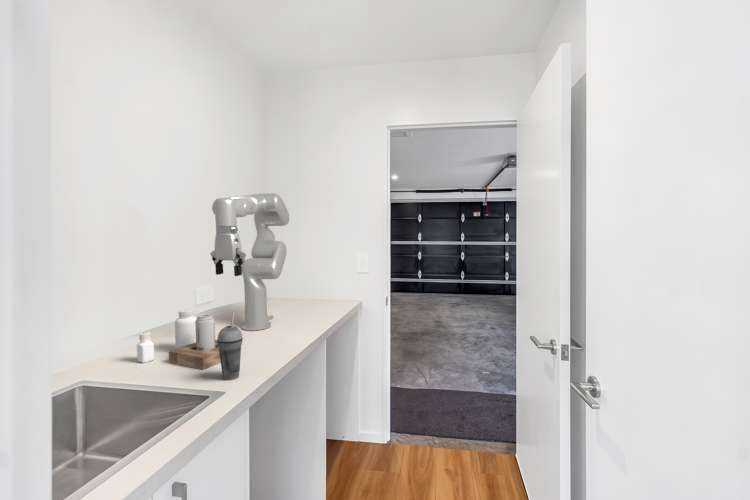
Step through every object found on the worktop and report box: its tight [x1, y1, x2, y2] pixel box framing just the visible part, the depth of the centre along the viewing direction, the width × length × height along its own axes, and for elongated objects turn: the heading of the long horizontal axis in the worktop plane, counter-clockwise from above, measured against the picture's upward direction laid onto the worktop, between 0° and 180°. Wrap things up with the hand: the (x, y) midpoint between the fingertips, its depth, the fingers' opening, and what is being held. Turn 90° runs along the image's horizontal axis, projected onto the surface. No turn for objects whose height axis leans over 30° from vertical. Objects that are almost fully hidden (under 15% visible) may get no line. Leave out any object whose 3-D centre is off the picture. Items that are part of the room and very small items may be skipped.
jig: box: [168, 339, 221, 371], centre depth 131 cm, size 16×16×4 cm
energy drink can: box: [195, 313, 216, 352], centre depth 131 cm, size 6×6×15 cm
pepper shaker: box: [136, 331, 155, 364], centre depth 129 cm, size 4×4×10 cm
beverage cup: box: [216, 310, 244, 381], centre depth 114 cm, size 7×7×20 cm
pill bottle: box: [174, 308, 197, 349], centre depth 141 cm, size 8×8×15 cm
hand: (228, 274), depth 147 cm, fingers open, 9 cm apart
